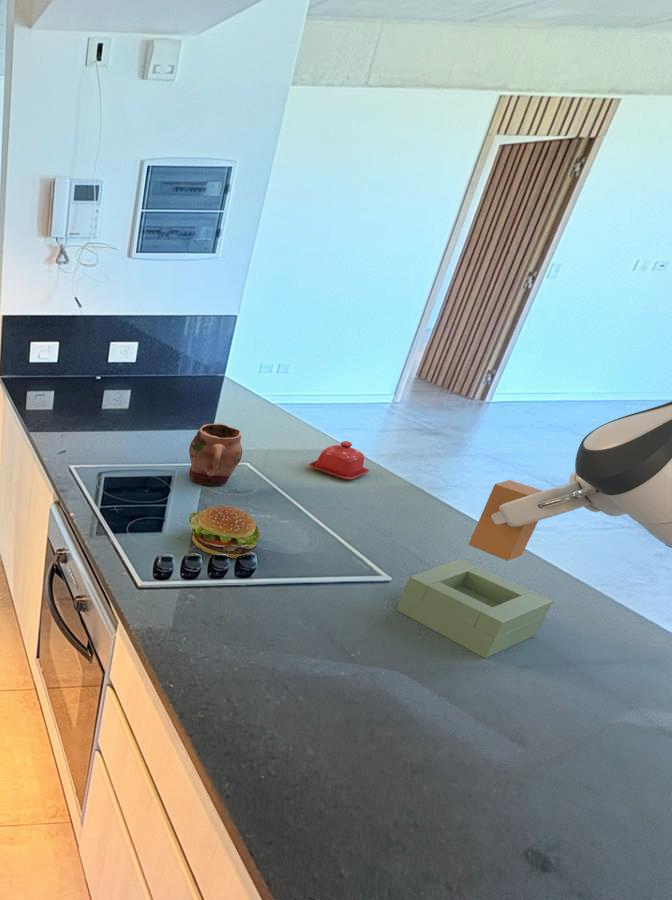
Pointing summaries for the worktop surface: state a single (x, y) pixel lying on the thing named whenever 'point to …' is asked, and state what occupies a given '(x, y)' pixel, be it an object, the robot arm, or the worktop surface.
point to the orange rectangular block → (502, 536)
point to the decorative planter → (214, 454)
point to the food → (224, 531)
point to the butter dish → (341, 461)
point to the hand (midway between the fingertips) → (505, 516)
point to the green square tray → (473, 607)
